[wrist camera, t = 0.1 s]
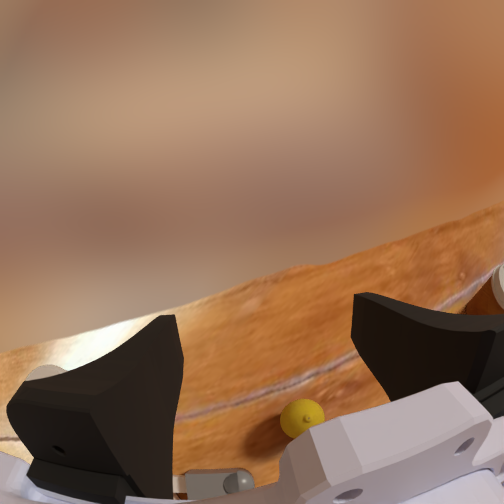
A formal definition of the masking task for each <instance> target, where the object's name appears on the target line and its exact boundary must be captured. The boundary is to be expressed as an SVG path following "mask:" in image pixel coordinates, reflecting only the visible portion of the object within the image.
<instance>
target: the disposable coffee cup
mask: <svg viewBox="0 0 504 504" xmlns="http://www.w3.org/2000/svg"><path fill="white" fill-rule="evenodd" d="M496 314H504V264H503V265H499V266H497V267H496V268H495V269H494V271H493V274H492V276H491V277H490V278H489V279H488V281H487V282H486V283H485V284H484V285H483V286H482V288H481V289H480V290H479V291H478V292H477V293H476V295H475V296H474V297H473V298H472V299H471V300H470V301H469V302H468V304H467V306H466V315H496Z"/></svg>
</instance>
